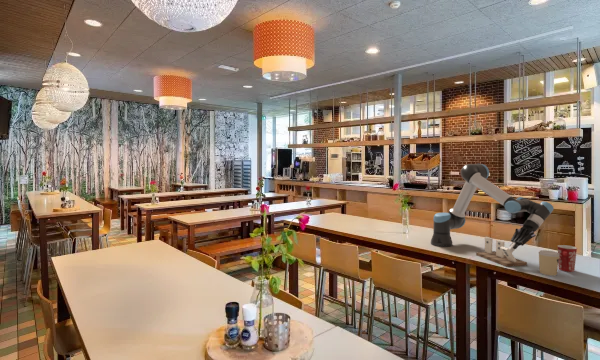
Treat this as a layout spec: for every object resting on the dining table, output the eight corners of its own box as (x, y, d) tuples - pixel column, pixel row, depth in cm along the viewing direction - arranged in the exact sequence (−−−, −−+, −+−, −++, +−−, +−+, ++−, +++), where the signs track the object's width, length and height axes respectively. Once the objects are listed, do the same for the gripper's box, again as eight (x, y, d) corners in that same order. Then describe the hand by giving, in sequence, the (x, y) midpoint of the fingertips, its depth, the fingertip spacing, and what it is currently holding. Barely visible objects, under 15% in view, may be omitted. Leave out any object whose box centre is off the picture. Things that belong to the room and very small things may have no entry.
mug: (558, 266, 203) (559, 244, 203) (577, 270, 196) (578, 247, 196) (552, 271, 195) (553, 247, 194) (572, 275, 188) (573, 250, 187)
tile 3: (507, 260, 210) (499, 248, 208) (510, 258, 210) (501, 246, 208) (514, 262, 205) (506, 250, 203) (516, 260, 205) (508, 248, 203)
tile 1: (484, 251, 229) (484, 236, 229) (486, 251, 229) (486, 236, 229) (489, 253, 224) (490, 238, 224) (492, 253, 225) (492, 238, 224)
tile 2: (495, 255, 219) (495, 240, 219) (497, 255, 220) (498, 240, 219) (501, 257, 214) (501, 242, 214) (504, 257, 215) (504, 241, 214)
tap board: (476, 255, 229) (476, 252, 229) (494, 253, 231) (494, 251, 231) (506, 266, 203) (506, 263, 203) (526, 265, 206) (526, 262, 206)
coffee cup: (562, 276, 186) (563, 255, 185) (542, 275, 187) (543, 254, 187) (553, 271, 195) (553, 250, 194) (534, 270, 197) (535, 249, 196)
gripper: (546, 229, 203) (521, 259, 201) (527, 225, 216) (504, 253, 213) (538, 221, 202) (514, 250, 199) (520, 217, 214) (497, 245, 212)
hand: (508, 252), depth 206 cm, fingers closed
